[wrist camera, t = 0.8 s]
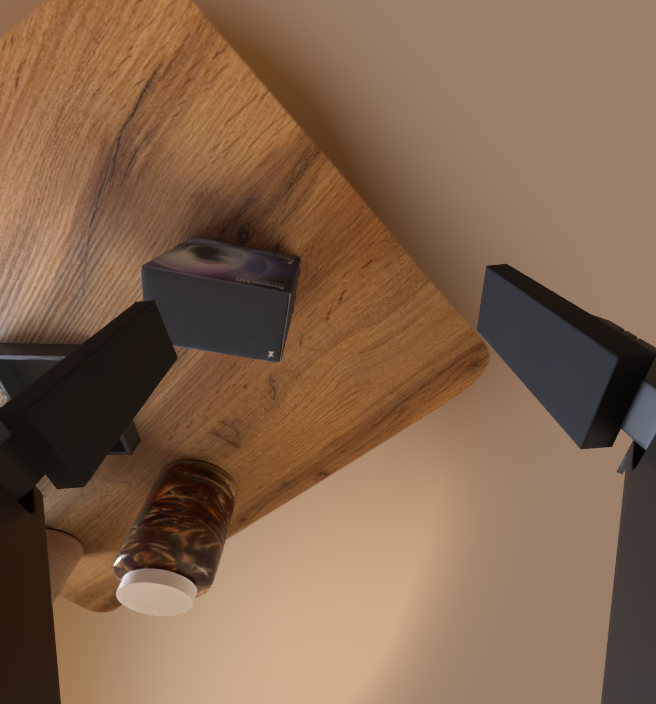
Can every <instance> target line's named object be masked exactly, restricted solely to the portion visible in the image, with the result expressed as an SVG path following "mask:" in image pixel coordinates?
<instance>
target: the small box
mask: <svg viewBox="0 0 656 704" xmlns="http://www.w3.org/2000/svg"><path fill="white" fill-rule="evenodd" d="M300 262H301V259H300V257H296V256H292V255H287V254H282V253H277V252H272V251H267V250H262V249H257V248H252V247H247V246H243V245H238V244H233V243H228V242H223V241H218V240H213V239H208V238H203V237H198V236H193V237H191V238H190V239H188V240H186V241H185V242H183V243H181V244H180V245H178V246H176V247H174V248H173V249H171V250H169V251H167V252H166V253H164V254H162V255H160V256H159V257H157V258H155V259H153V260H152V261H150V262H148V263H146V264H145V265H142V266H141V277H142V289H143V301H150V300H155V302H156V305H157V307H158V310H159V312H160V315H161V317H162V320H163V322H164V325H165V327H166V330H167V332H168V335H169V337H170V340H171V342H172V345H174V346H180V347H186V348H192V349H197V350H203V351H209V352H216V353H221V354H228V355H233V356H240V357H246V358H251V359H258V360H264V361H270V362H275V363H280V362H281V361H282V356H283V351H284V347H285V342H286V339H287V334H288V330H289V326H290V322H291V317H292V314H293V313H294V301H295V298H296V296H295V295H296V288H297V284H298V283H297V282H298V277H299V273H300Z"/></svg>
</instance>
